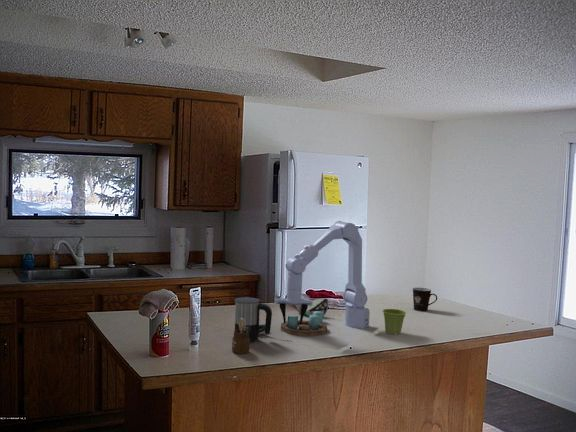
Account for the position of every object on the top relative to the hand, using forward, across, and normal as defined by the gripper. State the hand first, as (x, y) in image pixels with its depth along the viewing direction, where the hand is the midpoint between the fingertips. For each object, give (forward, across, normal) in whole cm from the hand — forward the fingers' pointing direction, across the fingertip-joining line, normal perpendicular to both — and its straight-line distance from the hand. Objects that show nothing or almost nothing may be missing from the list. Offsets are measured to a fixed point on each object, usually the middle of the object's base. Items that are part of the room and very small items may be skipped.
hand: (292, 323), depth 238 cm
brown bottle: (+4, +18, +30) cm, 35 cm away
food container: (+1, -6, -31) cm, 32 cm away
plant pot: (+4, -40, -6) cm, 41 cm away
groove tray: (+3, -4, 0) cm, 6 cm away
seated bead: (+2, -8, -2) cm, 9 cm away
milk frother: (+4, +16, +10) cm, 19 cm away
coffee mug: (+4, -62, -52) cm, 81 cm away
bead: (+2, 0, 0) cm, 2 cm away
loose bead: (+3, -10, -14) cm, 18 cm away
